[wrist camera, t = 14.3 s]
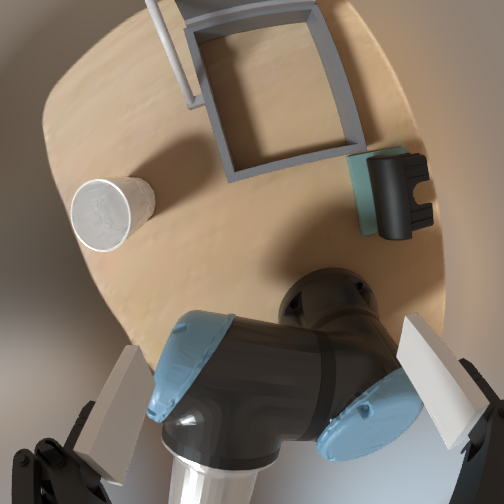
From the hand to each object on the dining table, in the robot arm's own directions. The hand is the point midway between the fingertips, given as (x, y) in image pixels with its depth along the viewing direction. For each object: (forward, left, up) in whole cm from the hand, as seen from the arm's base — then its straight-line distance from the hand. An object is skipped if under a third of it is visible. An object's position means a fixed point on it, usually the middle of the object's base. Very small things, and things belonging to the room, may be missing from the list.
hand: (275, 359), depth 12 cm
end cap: (+1, -18, -25) cm, 31 cm away
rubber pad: (+1, -18, -26) cm, 31 cm away
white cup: (+8, +15, -26) cm, 31 cm away
